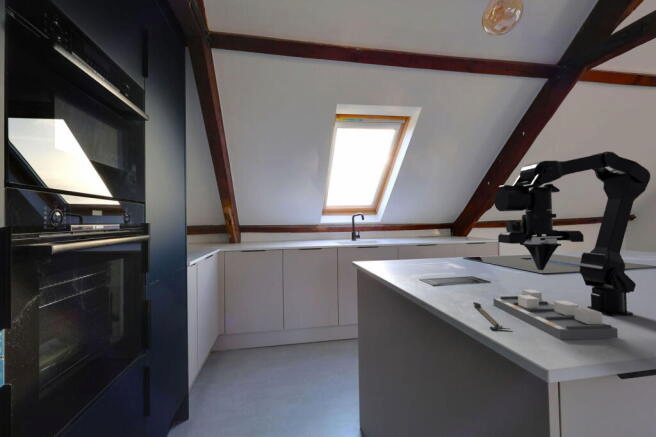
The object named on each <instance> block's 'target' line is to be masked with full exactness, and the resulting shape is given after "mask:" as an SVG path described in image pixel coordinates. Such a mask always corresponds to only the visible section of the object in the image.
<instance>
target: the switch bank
mask: <svg viewBox="0 0 656 437" xmlns="http://www.w3.org/2000/svg"><path fill="white" fill-rule="evenodd" d="M492 300H493V306H494V307H497V308H498V309H500V310H502V311H504V312H505V313H508V314H509V315H511V316H514V317H515V318H517V319H520V320H522V321H523V322H525V323H527V324H528V325H531V326H533V327H534V328H537V329H538V330H540V331H543V332H544V333H546V334H548V335H551V337H552V336H553V337H555V338H556V339H558V340H560V341H562V340H563V341H564V340H597V339H601V340H602V339H603V340H604V339H618V337H619V336H618V332H619V331H618V328H617V327H614V326H612V324H607V323H603V322H602V323H603V324H586V323H584V322H581V321H579V320H576V319H575V317H574V315H564V314H561V313H559V312H556V311H554V303H553V304H552V303H550V302H549V301H546V300H542V301H539V308H525V307H523V306H521V305H518V295H515V296H514V295H510V296H509V295H508V296H507V295H506V296H501V295H500V298H495V297H494V298H493V299H492Z"/></svg>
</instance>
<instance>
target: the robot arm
mask: <svg viewBox="0 0 656 437" xmlns="http://www.w3.org/2000/svg"><path fill="white" fill-rule="evenodd" d="M608 168H610V169H611V170H609V169H608ZM590 170H592V171H594V174H595V177H596V178H597V180H599V181H600V182H602V183H603V187H602V189H603V191H604V193H605V195H606V197H607V200H606V204H605V209H604V212H603V215H602V219H601V222H600V227H599V230H598V234H597V237H596V242H595V244H594V248H593V249H591V251H589V252H583V253H582V254H581V258H580V262H579V264H577V265H578V267H579V274H580V275H581V277H582V279H583V281H584V284H585V286H587V287H591V292H590V305H589V306H587V307H586V308H589V309H592V310H595V311H598V312H601V313H602V315H606V316H631V315H632V316H633V315H634V312H632V311H629V310H628V303H627V293H628V294H630V293H634V292H635V289H636V286H637V284H636V282H635V281H634V280H632V279H631V278H630V277H629V276H628V275H627V274H626V273H625V270H626V262H624V259H623V257H622V255H621V250H622V246H623V242H624V239H625V236H626V231H627V227H628V224H629V219H630V218H631V212H632V209H633V206H634V202H635V200H636V199H637V198H638V197H640V196H641V195H642V194H643V193H644V192H645V191H646V190H647V187H648V185H649V184H650V180H651V173H650V172H651V171H650V170H648V168H646V167H645V166H642V164H640V163H639V162H638V161H635V160H631V159H628V158H625V157H622V156H619V155H618V154H617V153H615V152H614V151H603V152H599V153H598V152H597V153H595V154H591V155H588V156H583V157H579V158H573V159H569V160H568V159H567V160H563V161H562V160H561V161H560V160H543V161H539V162H534V163H530V164H527V165H524V166H523V167H522V168H521V169H520V171H519V175H518V177H517V178H516V180H515V181H514V182H513V184H512V185H510V184H503V185H499V186H498V191H497V192H496V194H495V198H494V199H493V204H494V207H495V209H496V210H497V211H499V212H521V211H522V212H523V211H524V213H525V214H522V216H521V220H520V221H516V220H507V221H506V222H505V223H506V224H505V229H506V231H500V233H499V234H498V235H497V238H498V239H497V240H498V241H497V242H498V243H501V244H502V243H503V244H509V245H510V244H511V245H513V244H514V245H515V244H516V245H517V244H519V245H520V246H524V247H525V248H526V249H527V251H528V252H529V254H530V256H531V258H532V260H533V261H534V262H533V263H534V265H535V266H536V269H537V270H538V271H544V270H545V268H546V267H547V264H548V262H549V261H550V259H551V257H552V256H553V254H554V253H555V251H556V250H557V248H558V247H562V243H558V242H560V241H569V242H571V243H583V242H584V241H585V240H584V234H583V233H582V232H581V230H572V229H571V230H568V229H567V230H566V229H565V230H561V229H560V230H558V229H553V228H554V225H553V223H554V222H553V219H555V218H557V213H553V203H552V201H553V198H552V193H560V191H561V190H560V189H559V188H558V187H557V186H555V185H554V183H552V182H555V181H557V180H559V179H561V178H563V177H564V176H567V175H572V174H576V173H581V172H586V171H590Z"/></svg>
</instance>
